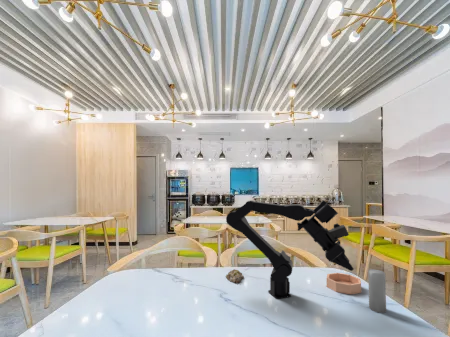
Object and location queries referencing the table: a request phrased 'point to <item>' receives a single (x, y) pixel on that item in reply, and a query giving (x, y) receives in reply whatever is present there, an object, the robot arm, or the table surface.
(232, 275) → the mineral rock
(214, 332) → the table surface
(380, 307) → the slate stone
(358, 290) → the terracotta bowl
